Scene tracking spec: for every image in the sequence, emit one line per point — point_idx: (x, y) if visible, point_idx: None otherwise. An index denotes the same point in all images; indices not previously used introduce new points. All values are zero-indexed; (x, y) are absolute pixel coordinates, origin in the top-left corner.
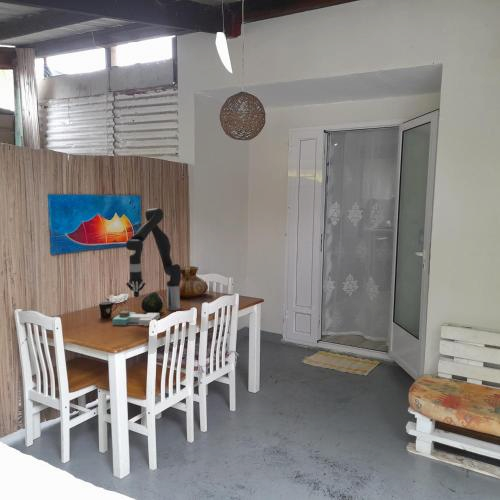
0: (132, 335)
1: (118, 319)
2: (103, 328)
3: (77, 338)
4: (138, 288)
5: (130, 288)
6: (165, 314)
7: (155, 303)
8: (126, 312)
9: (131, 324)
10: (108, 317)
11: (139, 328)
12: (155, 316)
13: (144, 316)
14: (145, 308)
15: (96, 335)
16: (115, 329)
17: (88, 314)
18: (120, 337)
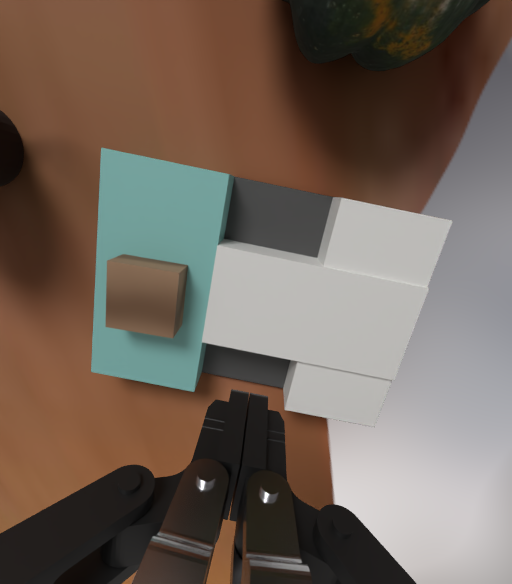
0: None
1: (137, 379)
2: (85, 417)
3: None
4: (280, 549)
5: (77, 582)
6: (492, 64)
7: (460, 18)
8: (163, 317)
9: (235, 376)
10: (10, 177)
11: (295, 436)
12: (410, 331)
13: (322, 338)
14: (311, 55)
15: None
16: (160, 441)
17: None
18: (222, 553)
